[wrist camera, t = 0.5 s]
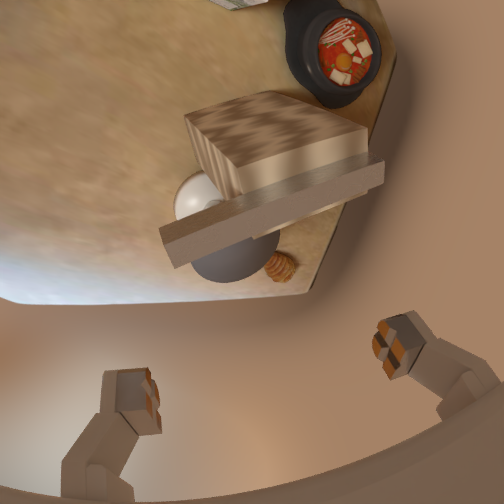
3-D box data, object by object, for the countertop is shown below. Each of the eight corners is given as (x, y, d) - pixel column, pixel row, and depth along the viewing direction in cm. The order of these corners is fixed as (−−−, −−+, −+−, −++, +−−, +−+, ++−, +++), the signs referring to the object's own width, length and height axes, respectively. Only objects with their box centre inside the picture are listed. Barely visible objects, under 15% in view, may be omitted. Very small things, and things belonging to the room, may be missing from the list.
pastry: (254, 263, 75) (260, 273, 72) (274, 243, 74) (282, 252, 71) (275, 279, 81) (281, 289, 78) (294, 261, 80) (302, 270, 77)
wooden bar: (168, 250, 32) (174, 268, 30) (158, 228, 30) (163, 245, 28) (367, 172, 36) (383, 183, 34) (367, 151, 34) (384, 160, 32)
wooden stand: (196, 161, 54) (253, 239, 35) (183, 115, 48) (237, 168, 29) (277, 134, 57) (367, 193, 38) (269, 90, 51) (367, 128, 32)
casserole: (255, 10, 41) (278, 5, 35) (335, -19, 41) (364, -22, 35) (308, 122, 58) (333, 134, 52) (373, 85, 58) (401, 93, 52)
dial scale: (189, 155, 53) (213, 189, 42) (258, 179, 62) (295, 216, 51) (159, 226, 59) (175, 275, 48) (226, 241, 67) (253, 287, 56)
